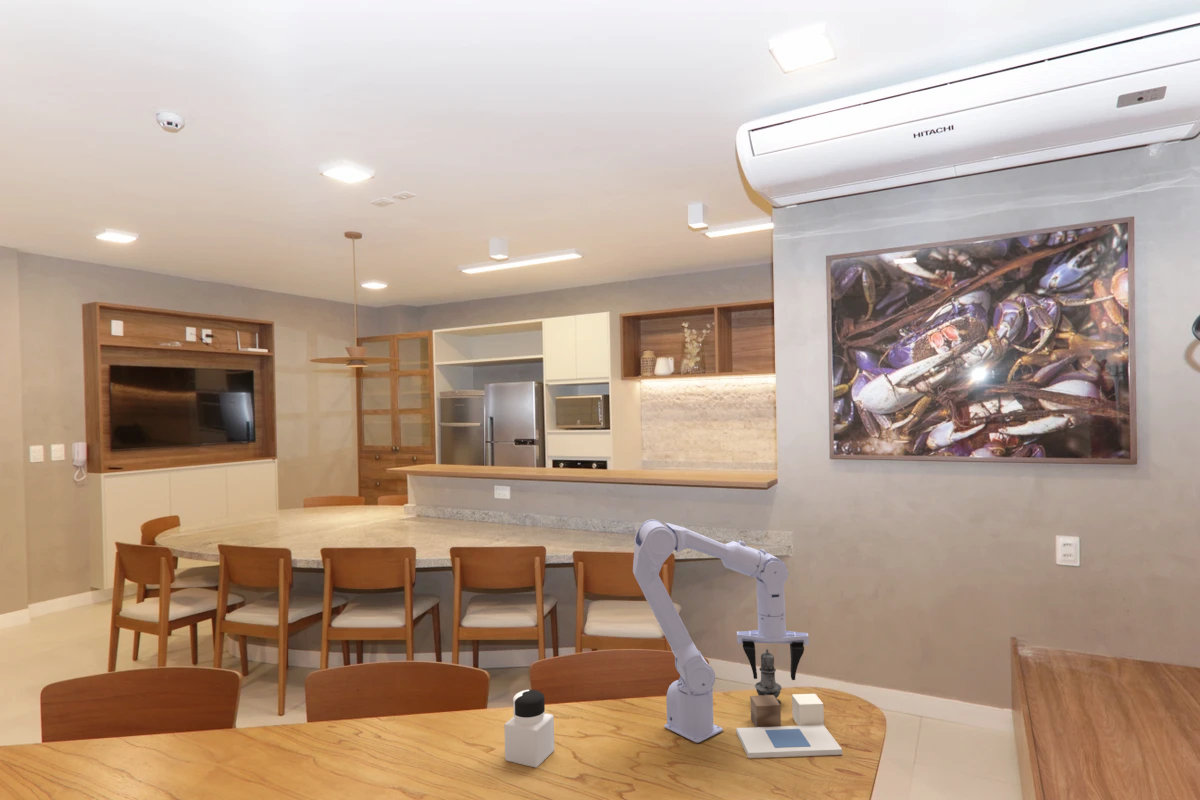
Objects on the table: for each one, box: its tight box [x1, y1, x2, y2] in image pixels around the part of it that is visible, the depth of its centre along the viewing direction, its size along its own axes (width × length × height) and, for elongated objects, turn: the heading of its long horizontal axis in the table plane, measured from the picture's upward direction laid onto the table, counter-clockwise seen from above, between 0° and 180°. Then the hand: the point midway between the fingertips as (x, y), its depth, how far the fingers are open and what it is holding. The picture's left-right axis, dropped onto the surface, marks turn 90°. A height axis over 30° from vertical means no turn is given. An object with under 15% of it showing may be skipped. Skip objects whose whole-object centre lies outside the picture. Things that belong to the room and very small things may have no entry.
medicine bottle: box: [504, 689, 555, 769], centre depth 131 cm, size 7×7×12 cm
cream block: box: [791, 693, 825, 726], centre depth 142 cm, size 5×5×5 cm
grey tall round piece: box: [754, 648, 782, 705], centre depth 152 cm, size 6×6×12 cm
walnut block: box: [749, 695, 782, 727], centre depth 142 cm, size 5×5×5 cm
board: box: [735, 724, 843, 759], centre depth 133 cm, size 18×10×1 cm, turn 92°
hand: (774, 677), depth 142 cm, fingers open, 7 cm apart
